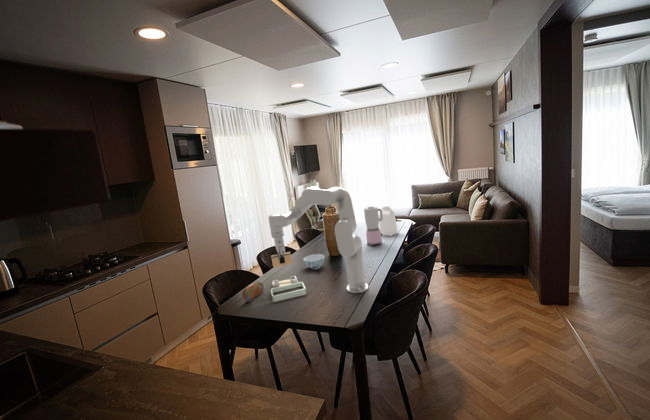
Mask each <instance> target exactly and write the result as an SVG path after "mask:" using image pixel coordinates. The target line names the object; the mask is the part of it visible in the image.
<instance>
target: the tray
mask: <svg viewBox="0 0 650 420" xmlns="http://www.w3.org/2000/svg"><path fill="white" fill-rule="evenodd" d="M299 287H301V288H302V289H301V288H300V289H297V288H299ZM291 289H297V290H293V291H289V292H283V293H279V292H282V291H287V290H291ZM274 293H279V294H275V295H274ZM270 294H271V299H272V302H273V303H276V302H280V301H285V300H288V299H293V298H296V297H301V296H302V297H303V296H306V295H308V294H307V288H306V286H305V284H304V281H298V283H294V284H290V285H285V286H281V287H276V288H273V287H272V288H270Z"/></svg>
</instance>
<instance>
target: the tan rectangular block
mask: <svg viewBox="0 0 650 420" xmlns="http://www.w3.org/2000/svg"><path fill="white" fill-rule="evenodd" d="M283 254H284V258H285V263H282V264H280V260H279V254H278V253H277V254H273V255H270V257H271V262H272V263H271V264H272V266H273V268H278V267H283V266H287V265H292V264H293V258H292V253H291V251H287V252H286V251H285V252H283Z"/></svg>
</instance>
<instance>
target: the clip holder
mask: <svg viewBox="0 0 650 420" xmlns="http://www.w3.org/2000/svg"><path fill="white" fill-rule="evenodd" d="M294 283H299V280H298V278H297V276H296V275H293V276H292V275H291V276H290V277H289V278H288V279H283V280H279V279H274V280H272V283H271V284H272V288H276V287H281V286H285V285H290V284H294Z"/></svg>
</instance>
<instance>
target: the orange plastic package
mask: <svg viewBox="0 0 650 420" xmlns="http://www.w3.org/2000/svg"><path fill="white" fill-rule="evenodd" d="M263 292H264V284H263V282H260V281H254V282H253V283H251V284H250V285H248V286H246V287H245V288H244V289H243V290H242V295H241V297H242V299H243V300H244V301H245V302H249V303H251V302H252V301H253V299H254V298H255V297H257V296H258V295H261V294H263Z"/></svg>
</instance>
